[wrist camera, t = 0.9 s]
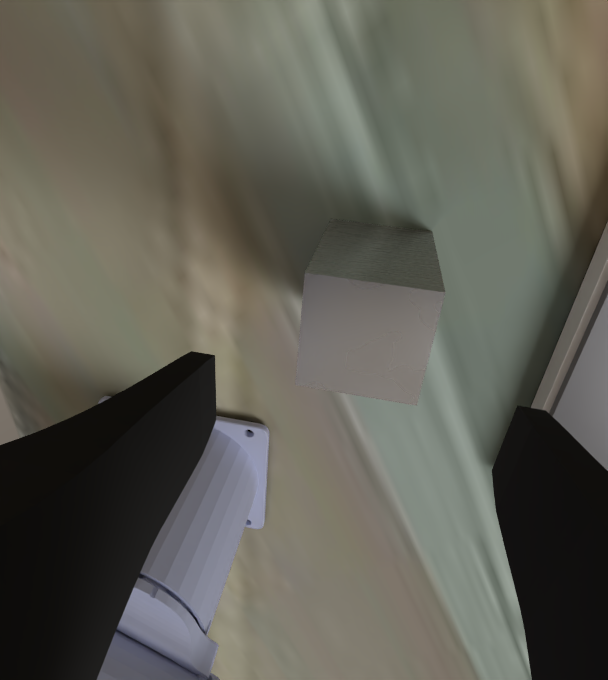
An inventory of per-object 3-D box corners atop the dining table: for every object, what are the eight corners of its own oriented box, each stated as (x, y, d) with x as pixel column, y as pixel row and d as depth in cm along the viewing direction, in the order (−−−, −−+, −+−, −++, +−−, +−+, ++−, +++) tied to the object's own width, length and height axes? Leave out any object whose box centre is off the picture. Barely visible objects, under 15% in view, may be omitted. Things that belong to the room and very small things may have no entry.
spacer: (321, 307, 20) (295, 385, 15) (331, 218, 18) (304, 272, 13) (412, 321, 20) (416, 405, 15) (432, 231, 18) (445, 292, 13)
